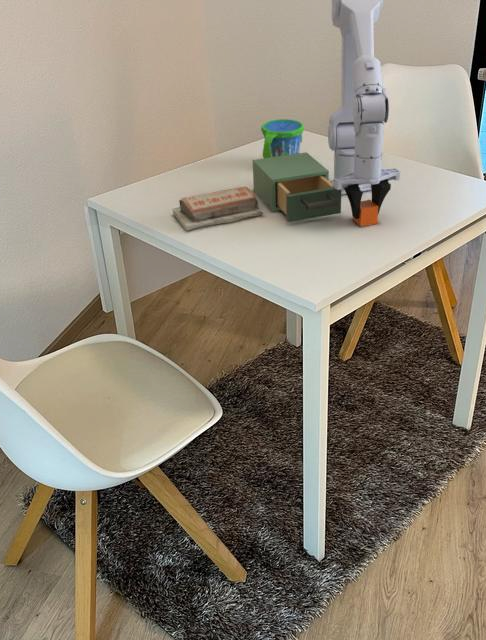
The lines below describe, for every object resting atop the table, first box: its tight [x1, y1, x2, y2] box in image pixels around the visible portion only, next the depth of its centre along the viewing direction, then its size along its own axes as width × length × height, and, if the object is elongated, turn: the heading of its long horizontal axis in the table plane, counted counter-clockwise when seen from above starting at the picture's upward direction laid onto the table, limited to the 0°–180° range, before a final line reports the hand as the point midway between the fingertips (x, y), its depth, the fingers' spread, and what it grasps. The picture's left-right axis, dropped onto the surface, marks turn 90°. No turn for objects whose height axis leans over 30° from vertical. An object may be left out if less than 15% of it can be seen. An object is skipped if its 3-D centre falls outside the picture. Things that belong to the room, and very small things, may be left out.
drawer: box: [275, 175, 342, 223], centre depth 160 cm, size 17×12×6 cm
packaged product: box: [171, 186, 263, 231], centre depth 161 cm, size 18×5×10 cm
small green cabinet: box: [252, 151, 330, 213], centre depth 169 cm, size 14×14×8 cm
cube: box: [352, 199, 379, 227], centre depth 157 cm, size 4×4×4 cm
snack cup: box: [260, 118, 305, 159], centre depth 186 cm, size 16×10×10 cm
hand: (365, 215), depth 157 cm, fingers closed on cube, 4 cm apart
